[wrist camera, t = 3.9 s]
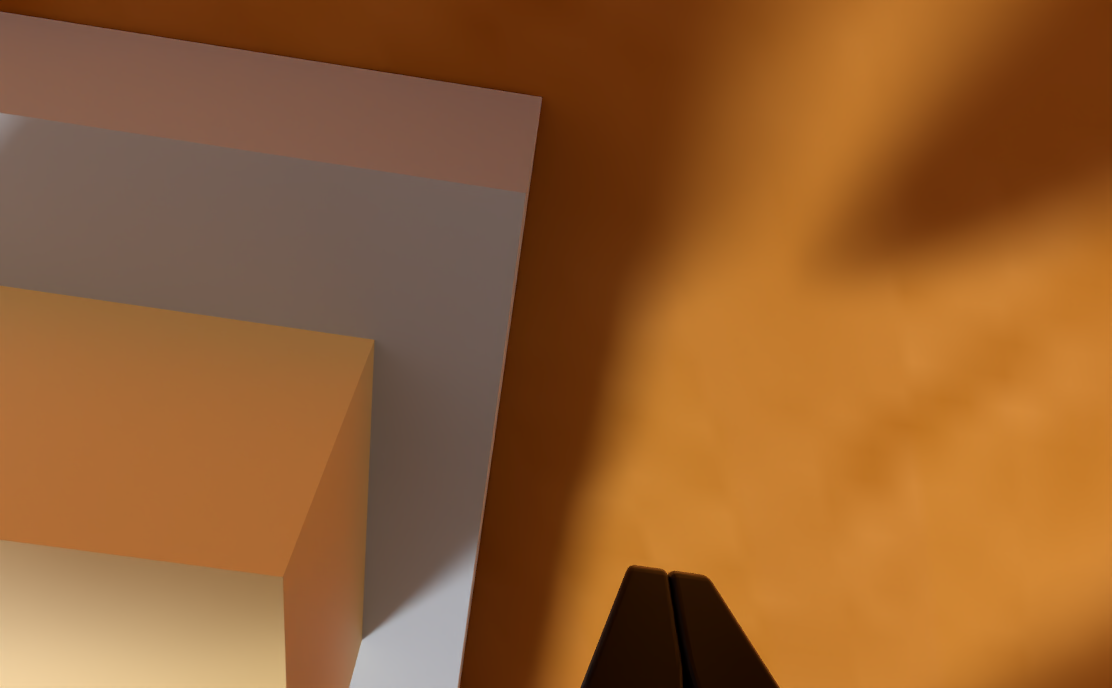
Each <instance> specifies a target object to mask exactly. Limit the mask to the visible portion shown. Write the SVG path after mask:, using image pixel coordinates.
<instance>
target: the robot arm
mask: <svg viewBox="0 0 1112 688" xmlns="http://www.w3.org/2000/svg"><path fill="white" fill-rule="evenodd" d="M581 688H779V686H778V684H777V683H776V681H775V680H774V678H773V677H772V675H771V674H770V672H769V670H768V669H767V667H766V666H765V664H764V663H763V661H762V659H761V658H760V656H759V655H758V653H757V652H756V650H755V649H754V647H753V645H752V644H751V642H750V641H749V639H748V638H747V636H746V635H745V633H744V631H743V630H742V628H741V627H740V625H739V624H738V622H737V620H736V619H735V617H734V616H733V614H732V613H731V611H730V610H729V608H728V606H727V605H726V603H725V602H724V600H723V599H722V597H721V595H720V594H719V592H718V591H717V589H716V588H715V586H714V585H713V583H712V582H711V580H710V579H709V578H707V577H706V576H704V575H700V574H693V573H686V572H679V571H672V572H670V573H668V575H667V573H666V572H665V571H664V570H663V569H658V568H651V567H644V566H637V565H632V566H630V567H629V568H628V569H627V571H626V573H625V576H624V578H623V581H622V583H621V586H620V588H619V591H618V593H617V596H616V599H615V601H614V604H613V606H612V609H611V611H610V614H609V616H608V619H607V621H606V624H605V627H604V629H603V632H602V634H601V637H600V639H599V642H598V644H597V647H596V650H595V652H594V655H593V657H592V660H591V662H590V665H589V667H588V670H587V672H586V675H585V678H584V680H583V683H582V685H581Z"/></svg>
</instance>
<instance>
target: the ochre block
mask: <svg viewBox="0 0 1112 688" xmlns="http://www.w3.org/2000/svg"><path fill="white" fill-rule="evenodd" d="M374 341H375V340H373V339H366V338H359V337H352V336H345V335H338V334H332V333H325V332H318V331H311V330H304V329H297V328H290V327H283V326H276V325H269V324H262V323H255V322H249V321H242V320H235V319H228V318H221V317H214V316H207V315H200V314H193V313H186V312H179V311H172V310H166V309H159V308H152V307H145V306H138V305H131V304H124V303H117V302H110V301H103V300H96V299H90V298H83V297H76V296H69V295H62V294H55V293H48V292H41V291H34V290H27V289H20V288H13V287H7V286H0V688H349V686H350V683H351V679H352V675H353V671H354V668H355V664H356V660H357V657H358V653H359V649H360V646H361V642H362V625H363V602H364V578H365V554H366V530H367V507H368V483H369V459H370V436H371V412H372V388H373V365H374Z"/></svg>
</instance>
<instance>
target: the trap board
mask: <svg viewBox="0 0 1112 688" xmlns="http://www.w3.org/2000/svg"><path fill="white" fill-rule="evenodd" d="M541 103H542V97H538V96H532V95H526V94H519V93H513V92H507V91H500V90H494V89H488V88H481V87H475V86H469V85H462V84H456V83H450V82H443V81H437V80H431V79H424V78H418V77H412V76H405V75H399V74H393V73H386V72H380V71H374V70H367V69H361V68H355V67H348V66H342V65H336V64H329V63H323V62H317V61H310V60H304V59H298V58H291V57H285V56H279V55H272V54H266V53H260V52H253V51H247V50H241V49H234V48H228V47H222V46H215V45H209V44H203V43H196V42H190V41H184V40H177V39H171V38H165V37H158V36H152V35H146V34H139V33H133V32H127V31H120V30H114V29H108V28H101V27H95V26H89V25H82V24H76V23H70V22H63V21H57V20H51V19H44V18H38V17H32V16H25V15H19V14H13V13H6V12H0V286H7V287H13V288H20V289H27V290H34V291H41V292H48V293H55V294H62V295H69V296H76V297H83V298H90V299H96V300H103V301H110V302H117V303H124V304H131V305H138V306H145V307H152V308H159V309H166V310H172V311H179V312H186V313H193V314H200V315H207V316H214V317H221V318H228V319H235V320H242V321H249V322H255V323H262V324H269V325H276V326H283V327H290V328H297V329H304V330H311V331H318V332H325V333H332V334H338V335H345V336H352V337H359V338H366V339H373V340H375V341H374V365H373V388H372V412H371V436H370V459H369V483H368V507H367V530H366V554H365V578H364V602H363V625H362V642H361V646H360V649H359V653H358V657H357V660H356V664H355V668H354V671H353V675H352V679H351V683H350V686H349V688H460V681H461V674H462V666H463V659H464V652H465V645H466V638H467V631H468V624H469V617H470V609H471V602H472V595H473V588H474V581H475V574H476V567H477V560H478V552H479V545H480V538H481V531H482V524H483V517H484V510H485V502H486V495H487V488H488V481H489V474H490V467H491V460H492V453H493V445H494V438H495V431H496V424H497V417H498V410H499V403H500V395H501V388H502V381H503V374H504V367H505V360H506V353H507V346H508V338H509V331H510V324H511V317H512V310H513V303H514V296H515V288H516V281H517V274H518V267H519V260H520V253H521V246H522V239H523V231H524V224H525V217H526V210H527V203H528V196H529V189H530V181H531V174H532V167H533V160H534V153H535V146H536V139H537V132H538V124H539V117H540V110H541Z"/></svg>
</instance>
